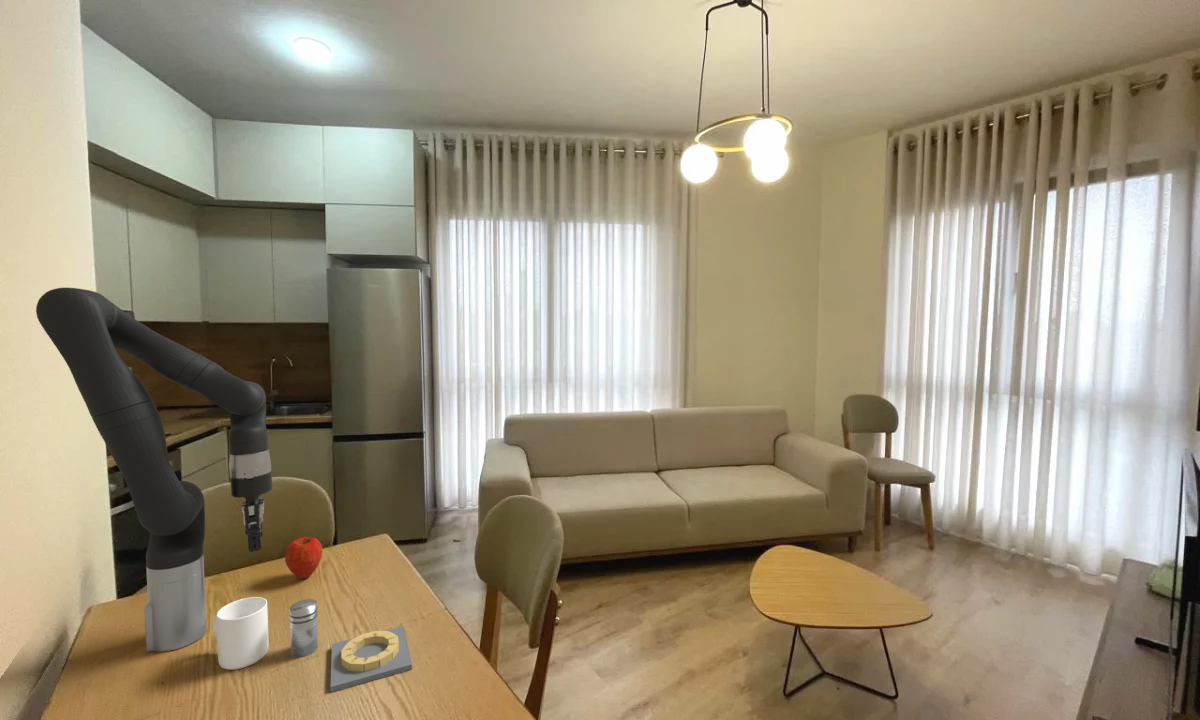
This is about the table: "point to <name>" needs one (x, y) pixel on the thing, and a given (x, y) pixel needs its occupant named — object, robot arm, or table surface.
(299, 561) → the apple
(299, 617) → the piston
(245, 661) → the mug
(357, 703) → the table surface
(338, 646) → the ring block
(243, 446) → the robot arm
